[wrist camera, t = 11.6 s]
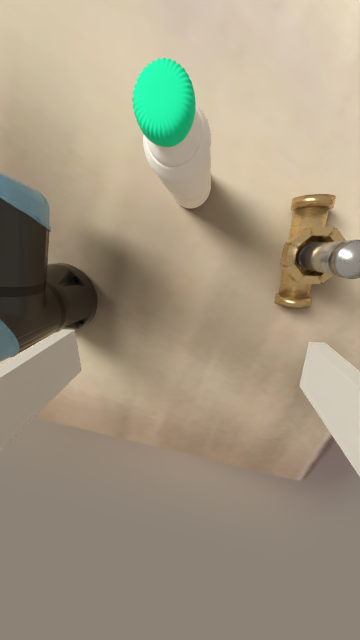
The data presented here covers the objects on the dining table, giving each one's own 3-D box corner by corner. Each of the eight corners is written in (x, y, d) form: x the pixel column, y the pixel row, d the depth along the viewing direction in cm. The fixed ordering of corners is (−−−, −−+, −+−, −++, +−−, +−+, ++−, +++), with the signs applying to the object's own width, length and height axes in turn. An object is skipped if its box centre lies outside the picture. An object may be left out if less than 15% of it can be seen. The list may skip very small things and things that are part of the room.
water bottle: (219, 186, 38) (231, 88, 15) (191, 217, 40) (162, 176, 17) (192, 154, 37) (158, -5, 14) (164, 188, 39) (95, 101, 16)
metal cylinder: (293, 268, 35) (332, 278, 24) (298, 242, 34) (342, 239, 23) (319, 269, 35) (372, 279, 23) (325, 242, 33) (384, 240, 22)
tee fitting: (308, 301, 42) (330, 313, 34) (265, 298, 43) (277, 310, 35) (330, 202, 37) (364, 189, 29) (280, 202, 38) (299, 190, 30)
